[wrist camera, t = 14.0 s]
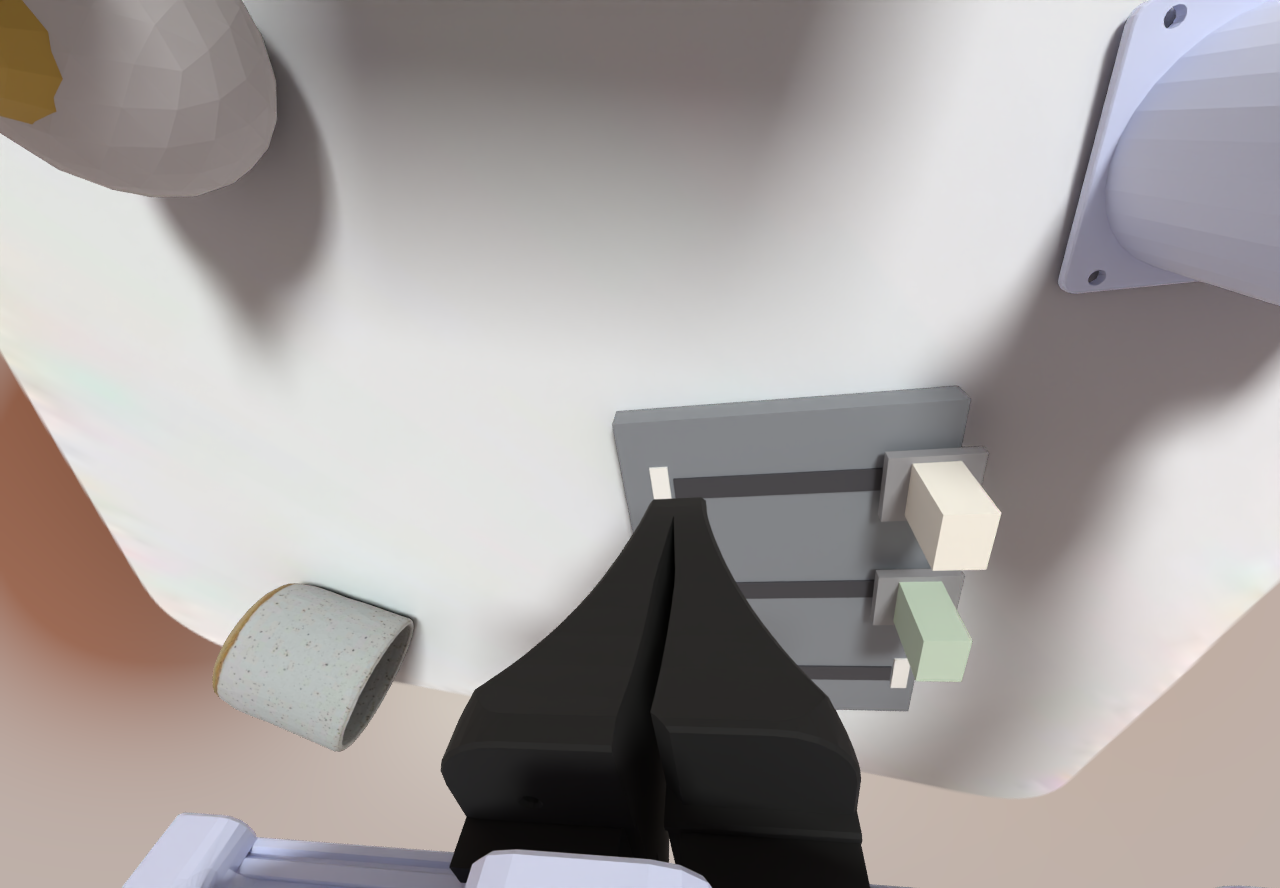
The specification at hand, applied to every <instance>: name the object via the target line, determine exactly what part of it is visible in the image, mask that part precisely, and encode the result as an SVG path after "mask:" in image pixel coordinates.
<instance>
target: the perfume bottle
mask: <svg viewBox="0 0 1280 888" xmlns="http://www.w3.org/2000/svg"><path fill="white" fill-rule="evenodd" d="M276 122H277V97H276V79H275V76H274V72H273V69H272V66H271V63H270V60H269V57H268V53H267V50H266V47H265V44H264V41H263V38H262V35H261V33H260V32H259V30H258V28H257V26H256V25H255V23H254V21H253V19H252V18H251V16H250V14H249V12H248V11H247V9H246V7H245V5H244V4H243V2H242V0H0V133H1V134H2V135H4V136H6V137H7V138H9V139H10V140H12V141H14V142H15V143H17V144H18V145H20V146H22V147H23V148H25V149H26V150H28V151H30V152H31V153H33V154H34V155H36V156H38V157H39V158H41V159H42V160H44V161H46V162H47V163H49V164H50V165H52V166H54V167H55V168H57V169H58V170H61V171H64V172H66V173H69V174H72V175H74V176H77V177H80V178H83V179H85V180H88V181H91V182H93V183H96V184H99V185H102V186H104V187H107V188H110V189H112V190H117V191H122V192H127V193H133V194H138V195H143V196H148V197H195V196H198V195H201V194H204V193H207V192H210V191H213V190H216V189H219V188H222V187H225V186H228V185H231V184H233V183H234V182H236V181H237V180H238V179H239V178H241V177H242V176H243V175H244V174H246V173H247V172H248V171H249V170H251V169H252V168H253V167H254V165H255V164H256V163H257V162H258V160H259V159H260V158H261V157H262V155H263V154H264V153H265V152H266V151H267V149H268V148H269V145H270V141H271V138H272V135H273V132H274V128H275V125H276Z"/></svg>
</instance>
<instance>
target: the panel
mask: <svg viewBox="0 0 1280 888" xmlns="http://www.w3.org/2000/svg"><path fill="white" fill-rule="evenodd" d="M970 402H971V399H970V398H969V397H968V395H967V394H966V393H965V392H964V391H963V390H962V389H961V388H960V387H959V386H949V387H936V388H922V389H909V390H896V391H882V392H869V393H856V394H842V395H829V396H816V397H802V398H789V399H776V400H762V401H749V402H736V403H722V404H709V405H696V406H682V407H669V408H656V409H642V410H629V411H616V414H615V417H614V421H613V424H612V426H613V431H614V436H615V442H616V447H617V452H618V457H619V462H620V468H621V473H622V478H623V483H624V488H625V494H626V499H627V504H628V509H629V514H630V520H631V525H632V530H633V533H634V531H635V530H636V528H637V526H638V525H639V523H640V521H641V519H642V518H643V516H644V514H645V512H646V510H647V508H648V506H649V504H650V503H651V502H652V501H653V500H654V499H673V498H695V497H702V498H703V499H704V500H706V506H707V515H708V519H709V523H710V526H711V529H712V532H713V535H714V537H715V540H716V542H717V545H718V547H719V549H720V552H721V554H722V556H723V558H724V560H725V562H726V564H727V566H728V568H729V570H730V572H731V574H732V576H733V578H734V580H735V581H736V583H737V585H738V587H739V588H740V590H741V592H742V593H743V595H744V596H745V598H746V600H747V601H748V603H749V604H750V606H751V607H752V609H753V610H754V612H755V613H756V614H757V616H758V617H759V619H760V620H761V622H762V623H763V624H764V626H765V627H766V628H767V629H768V631H769V632H770V633H771V634H772V636H773V637H774V638H775V639H776V641H777V642H778V643H779V644H780V646H781V647H782V648H783V649H784V651H785V652H786V653H787V654H788V655H789V656H790V657H791V659H792V660H793V661H794V662H795V663H796V664H797V665H798V666H799V668H800V669H801V670H802V671H803V672H804V673H805V674H806V675H807V676H808V677H809V678H810V679H811V680H812V681H813V682H814V683H815V684H816V685H817V686H818V687H819V688H820V689H821V690H822V691H823V692H824V693H825V694H826V695H827V696H828V697H829V699H830V701H831V703H832V704H833V706H834V708H835V710H875V711H908V710H909V705H910V700H911V695H912V690H913V685H914V680H915V678H914V675H913V673H912V670H911V667H910V665H909V662H908V659H907V656H906V654H905V651H904V648H903V646H902V643H901V640H900V638H899V635H898V632H897V630H896V627H895V625H873V624H872V621H871V618H870V614H871V606H872V598H873V590H874V581H875V573H876V570H891V569H931V567H930V565H929V563H928V561H927V559H926V557H925V555H924V553H923V551H922V549H921V547H920V545H919V543H918V541H917V539H916V537H915V535H914V533H913V531H912V529H911V527H910V525H909V523H908V521H886V522H881V520H880V518H879V516H878V508H879V500H880V491H881V482H882V474H883V465H884V456H885V452H889V451H907V450H925V449H943V448H960V447H962V442H963V437H964V432H965V427H966V422H967V417H968V412H969V407H970Z"/></svg>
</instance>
